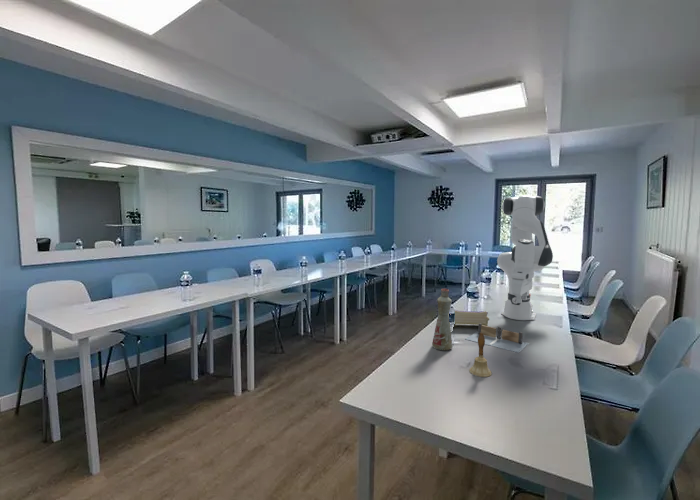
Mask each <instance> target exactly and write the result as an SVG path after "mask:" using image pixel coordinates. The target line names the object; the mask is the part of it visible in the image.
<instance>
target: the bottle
mask: <svg viewBox="0 0 700 500" xmlns="http://www.w3.org/2000/svg"><path fill="white" fill-rule="evenodd" d="M449 293H450V291H449V289H448V288H441V289H440V296H439V297H438V298H437V312H438V313H437V318H436V324H435V329H434V334H433V338H432V342H431V343H432V347H433V349H436V350H438V351H442V352H443V351H450V350H451V349H453V341H452V332H451V331H452V330H451V328H450V322H449V313H450V311H451V304H452V299H451V298H450V297H449Z"/></svg>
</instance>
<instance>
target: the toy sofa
mask: <svg viewBox="0 0 700 500" xmlns="http://www.w3.org/2000/svg"><path fill="white" fill-rule="evenodd" d="M454 310H455V325H474V326H475V325H478V326H479V323H481V324H482V325H484V326H488V325H489V321H490V318H489V316H488V311H486V310H485V311H484V310H483V311H482V310H481V311H475V310H473V311H472V310H471V311H469V310H465V311H464V310H456V309H454ZM488 327H489V326H488Z"/></svg>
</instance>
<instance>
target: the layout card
mask: <svg viewBox="0 0 700 500" xmlns="http://www.w3.org/2000/svg"><path fill="white" fill-rule="evenodd" d="M478 337H479V334H478V331H475V332H474V333H472V334H471V335H469V336H467V337H466V338H465V340H467V341H471V342H474V343H478ZM484 338H485V345H486V346H491V347H494V348H498V349H500V350H501V349H502V350H506V351H510V352H515V353H517V354H519V353H520V352H522V350H524V349H525V348H526V347H527V346H528V345H529V344H530V343H528V342H524V341H522V344H519V343H517V342H513V341H508V340H504V339H502V336H501V339H497V335H496V337H491V336H487V335H484Z"/></svg>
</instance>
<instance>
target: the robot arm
mask: <svg viewBox="0 0 700 500" xmlns="http://www.w3.org/2000/svg"><path fill="white" fill-rule="evenodd" d="M545 207H546V202H545V200H544V198H543V196H540V195H539V196H538V195H535V196H533V195H520V196H512V197H511V196H509V197H505V198H504V199H503V202H502V203H501V209H502V211H503V214H504V215H505V216H511V218H512V219H511V220H512V221H511V237H510V239H511V240H510V241H511V243H512V244H513V245H515V246H513V247H512V248H511V251H506V252H502V253H500V254H498V257H497V260H496V262H497V266H498V267H499V268H500V270H502V271H503V272H504V273H505V275H506V276H507V279H508V292H507V300H506V301H504V306H503V307H504V308H503V311H501V314H500V315H503V316H504V317H506V318H508V319H511V320H515V321H516V320H517V321H535V320H536V318H537V317H536V316H537V313H536V312H534V311H533V304H532V302H531V293H530V291H531V290H532V289H533V278H534V276H535V272H541V271H542V270H544V268H545V267H547V266H549V265H550V264H551V263H553V260H554V259H553V258H554V255H553V253H554V252H553V251H552V248H551V245H550V242H549V239H548V238H549V237H548V235H547V232H546V227H545V226H544V223H543V221H542V220H540V219H538V217H537V216H540V215H541V214H542V213H544V210H545ZM533 235H535V236H536V238H537V242H538V245H535V242H534V240H533Z"/></svg>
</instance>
